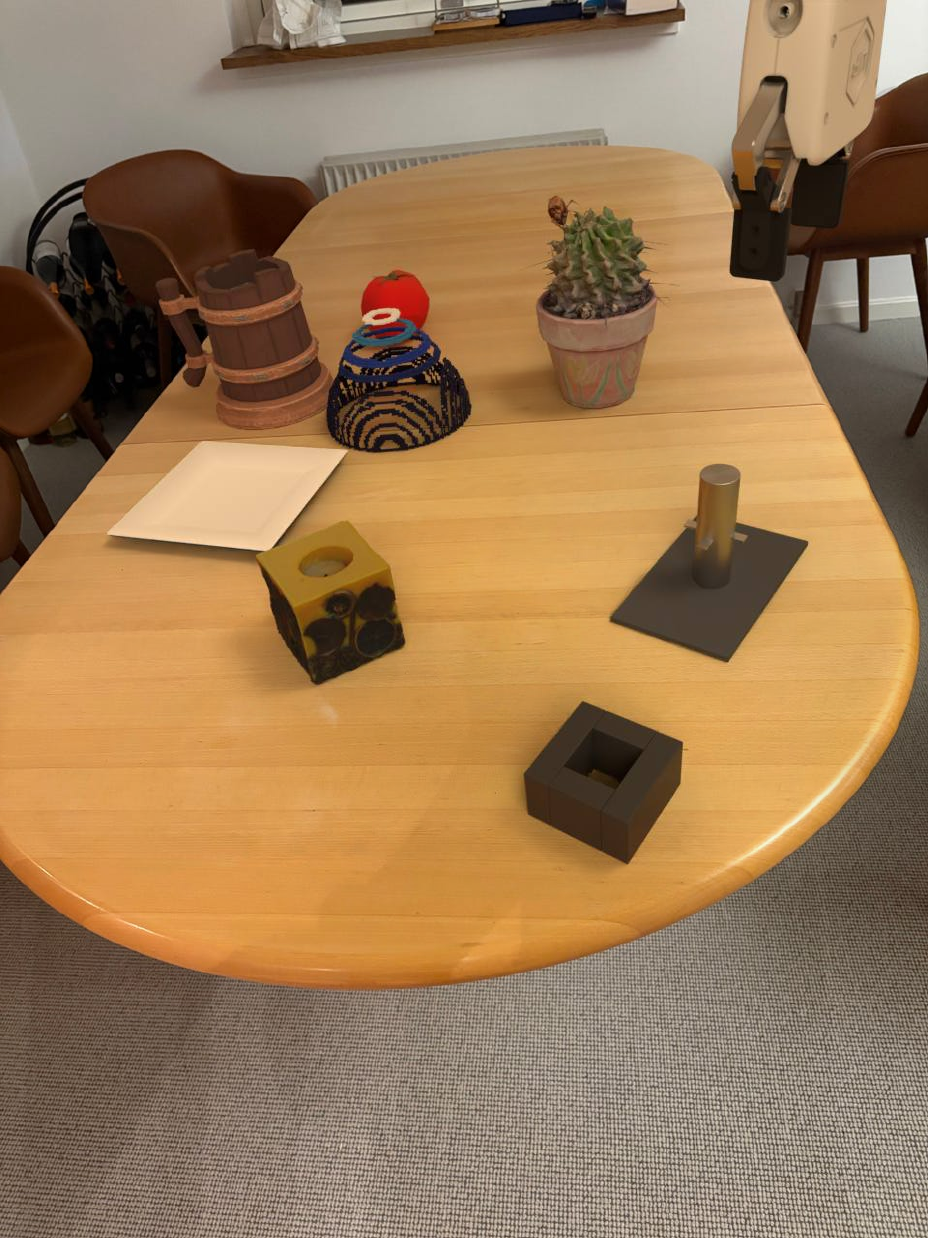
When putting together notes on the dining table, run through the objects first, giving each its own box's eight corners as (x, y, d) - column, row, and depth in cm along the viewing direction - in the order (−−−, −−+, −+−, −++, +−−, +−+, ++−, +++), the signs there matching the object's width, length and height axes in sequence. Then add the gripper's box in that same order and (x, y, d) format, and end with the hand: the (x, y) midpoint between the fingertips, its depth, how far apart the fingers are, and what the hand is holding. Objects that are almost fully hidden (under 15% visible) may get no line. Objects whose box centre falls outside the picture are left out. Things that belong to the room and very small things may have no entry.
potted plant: (663, 429, 112) (670, 224, 96) (517, 419, 119) (501, 226, 103) (687, 367, 125) (697, 177, 109) (554, 361, 131) (544, 180, 115)
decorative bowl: (474, 378, 130) (463, 280, 121) (466, 445, 115) (452, 339, 106) (343, 389, 133) (322, 293, 123) (318, 456, 117) (291, 353, 108)
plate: (110, 546, 106) (104, 532, 105) (205, 452, 122) (201, 439, 121) (273, 564, 100) (268, 549, 98) (351, 462, 115) (348, 448, 114)
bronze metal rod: (752, 569, 88) (765, 464, 80) (728, 603, 85) (738, 497, 77) (696, 553, 91) (703, 451, 83) (670, 585, 88) (674, 481, 80)
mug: (214, 377, 142) (173, 249, 129) (350, 368, 138) (321, 236, 125) (171, 433, 128) (120, 297, 115) (321, 426, 124) (286, 284, 111)
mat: (807, 545, 91) (808, 540, 90) (728, 662, 79) (728, 657, 79) (698, 516, 97) (699, 512, 97) (609, 621, 85) (609, 616, 85)
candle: (277, 633, 90) (250, 554, 84) (365, 594, 93) (346, 516, 87) (314, 690, 83) (288, 608, 77) (409, 646, 86) (391, 565, 80)
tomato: (355, 351, 143) (342, 288, 136) (382, 320, 152) (371, 259, 145) (419, 352, 139) (409, 288, 133) (443, 320, 148) (435, 258, 142)
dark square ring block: (680, 783, 70) (683, 741, 67) (627, 865, 65) (628, 824, 62) (584, 741, 74) (582, 700, 71) (527, 814, 69) (522, 773, 66)
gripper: (845, -84, 38) (795, 309, 49) (952, -122, 48) (891, 212, 59) (682, -69, 42) (670, 293, 53) (813, -106, 51) (779, 204, 62)
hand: (786, 250), depth 56 cm, fingers open, 9 cm apart
